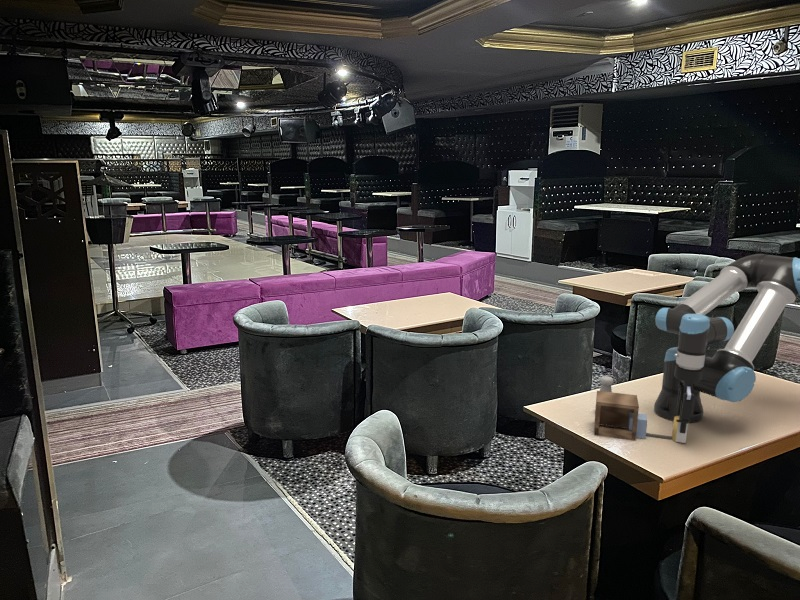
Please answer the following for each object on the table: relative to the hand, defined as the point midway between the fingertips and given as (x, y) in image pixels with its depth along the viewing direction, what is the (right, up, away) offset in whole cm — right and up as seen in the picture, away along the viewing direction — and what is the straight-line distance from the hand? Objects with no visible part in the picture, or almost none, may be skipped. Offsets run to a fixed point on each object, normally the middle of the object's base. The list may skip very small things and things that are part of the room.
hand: (679, 438), depth 181 cm
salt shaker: (-16, +4, +20) cm, 26 cm away
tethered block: (-7, 0, +2) cm, 7 cm away
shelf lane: (-18, +1, +6) cm, 19 cm away
